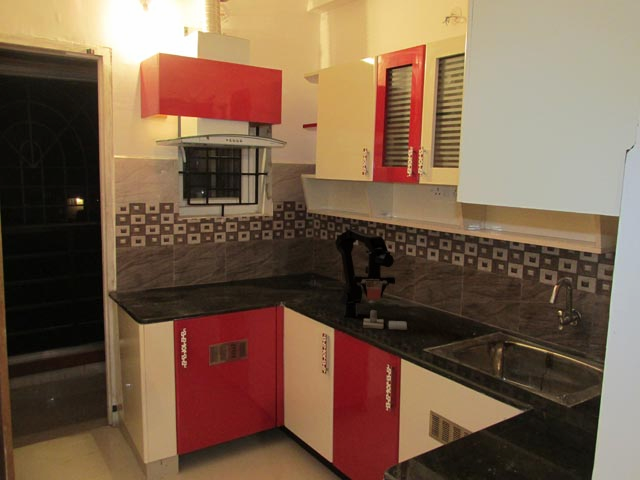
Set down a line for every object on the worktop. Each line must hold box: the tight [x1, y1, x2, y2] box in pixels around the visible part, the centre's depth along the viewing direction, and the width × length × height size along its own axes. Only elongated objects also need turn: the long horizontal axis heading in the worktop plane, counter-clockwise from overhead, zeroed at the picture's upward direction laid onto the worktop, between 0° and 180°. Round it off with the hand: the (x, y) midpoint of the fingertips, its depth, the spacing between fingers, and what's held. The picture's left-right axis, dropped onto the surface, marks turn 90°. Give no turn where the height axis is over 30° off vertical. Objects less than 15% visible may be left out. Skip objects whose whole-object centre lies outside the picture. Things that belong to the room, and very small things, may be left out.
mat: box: [388, 320, 408, 331], centre depth 247 cm, size 10×8×1 cm
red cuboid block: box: [366, 286, 382, 300], centre depth 246 cm, size 6×6×4 cm
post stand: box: [362, 309, 384, 330], centre depth 248 cm, size 10×9×6 cm
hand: (374, 297), depth 246 cm, fingers closed on red cuboid block, 6 cm apart
